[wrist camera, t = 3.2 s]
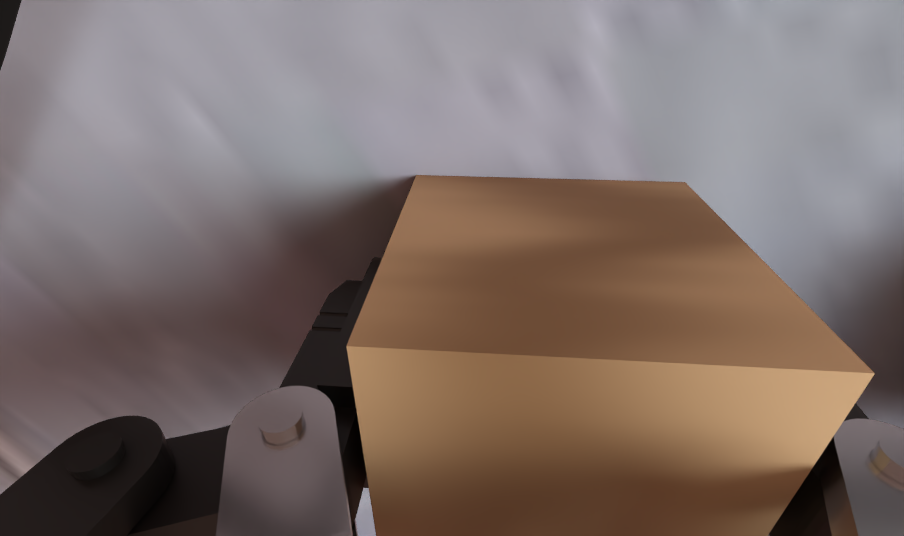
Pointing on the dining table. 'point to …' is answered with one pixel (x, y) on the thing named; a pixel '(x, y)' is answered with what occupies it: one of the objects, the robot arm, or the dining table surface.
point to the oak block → (586, 366)
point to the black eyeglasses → (7, 24)
